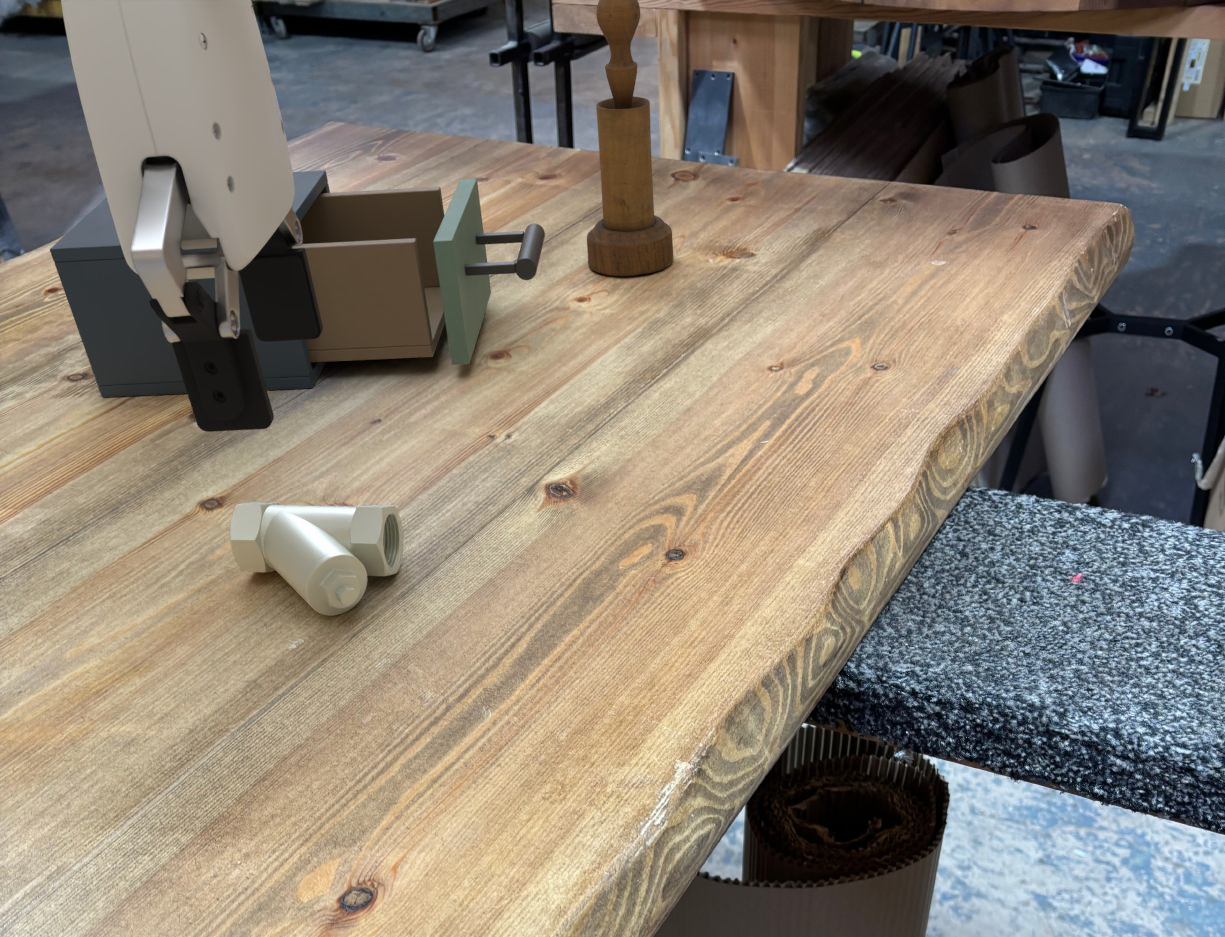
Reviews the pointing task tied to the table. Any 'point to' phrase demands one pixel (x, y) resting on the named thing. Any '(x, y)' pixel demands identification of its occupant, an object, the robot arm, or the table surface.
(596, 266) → the mortar and pestle
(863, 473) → the table surface
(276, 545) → the pipe fitting
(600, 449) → the table surface
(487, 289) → the drawer
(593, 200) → the table surface
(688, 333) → the table surface
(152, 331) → the cabinet
